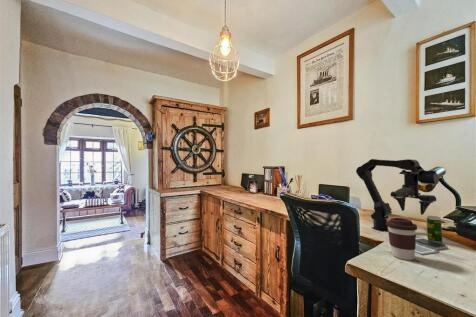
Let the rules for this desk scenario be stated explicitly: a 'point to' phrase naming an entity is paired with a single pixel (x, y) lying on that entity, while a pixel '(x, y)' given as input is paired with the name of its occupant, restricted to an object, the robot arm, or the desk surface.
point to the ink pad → (430, 244)
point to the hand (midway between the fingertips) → (412, 212)
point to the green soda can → (434, 229)
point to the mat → (424, 250)
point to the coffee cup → (402, 238)
